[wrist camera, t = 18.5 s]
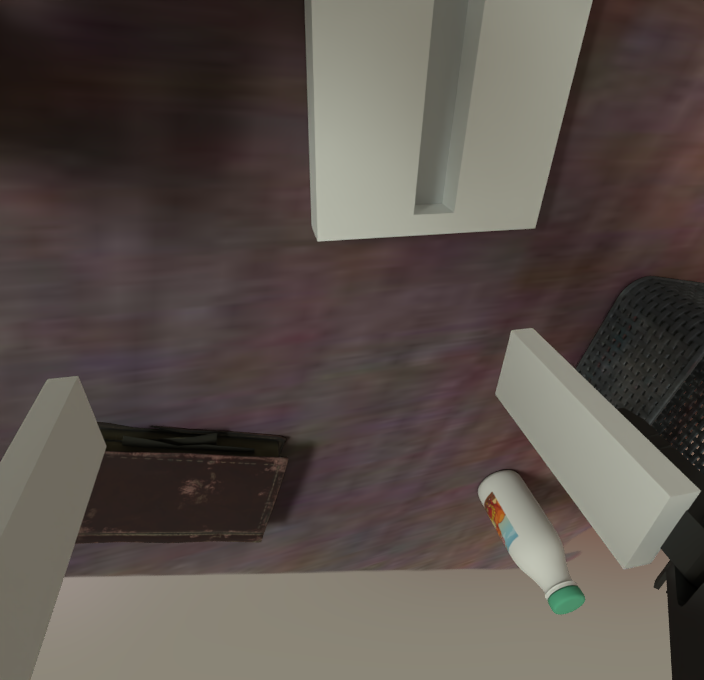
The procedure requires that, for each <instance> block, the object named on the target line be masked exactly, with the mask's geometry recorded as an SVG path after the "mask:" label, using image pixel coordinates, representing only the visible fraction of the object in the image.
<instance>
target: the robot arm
mask: <svg viewBox="0 0 704 680" xmlns="http://www.w3.org/2000/svg"><path fill="white" fill-rule="evenodd" d="M495 395H496V396H497V397H498V399H499V400H500V401H501V403H502V404H503V406H504V407H505V408H506V410H507V411H508V412H509V414H510V415H511V416H512V418H513V419H514V421H515V422H516V423H517V425H518V426H519V427H520V429H521V430H522V431H523V433H524V434H525V436H526V437H527V438H528V440H529V441H530V442H531V444H532V445H533V446H534V448H535V449H536V451H537V452H538V453H539V455H540V456H541V457H542V459H543V460H544V461H545V463H546V464H547V466H548V467H549V468H550V470H551V471H552V472H553V474H554V475H555V476H556V478H557V479H558V481H559V482H560V483H561V485H562V486H563V487H564V489H565V490H566V491H567V493H568V494H569V496H570V497H571V498H572V500H573V501H574V502H575V504H576V505H577V506H578V508H579V509H580V511H581V512H582V513H583V515H584V516H585V517H586V519H587V520H588V521H589V523H590V524H591V526H592V527H593V528H594V529H595V531H596V532H597V534H598V535H599V536H600V538H601V539H602V541H603V542H604V543H605V545H606V546H607V547H608V549H609V550H610V551H611V553H612V554H613V556H614V557H615V558H616V560H617V561H618V562H619V564H620V565H621V566H622V568H623V569H628V568H633V567H637V566H641V565H646V564H650V563H651V562H652V561H653V559H654V558H655V556H656V555H657V554H658V552H659V551H660V549H662V550H663V552H664V553H665V554H666V555H667V556H668V557H669V559H670V561H669V562H668V564H667V565H666V567H665V568H664V569H663V571H662V572H661V573H660V574H659V576H658V577H657V579H656V580H655V583H654V588H656V589H658V590H659V588H660V587H661V586H662V585H663V583H664V582H665V581H666V580H667V591H666V593H667V594H668V595H667V596H668V613H669V631H670V647H671V666H672V680H704V475H703V474H702V473H701V472H700V471H699V470H698V469H697V468H696V467H695V466H694V465H693V464H692V463H690V462H689V461H688V460H687V459H686V458H685V457H684V456H683V455H682V454H681V453H680V452H679V451H678V450H676V449H675V448H672V447H671V444H670V443H669V442H668V441H667V440H666V439H665V438H663V437H662V436H659V433H658V432H657V431H656V430H655V429H654V428H653V427H652V426H651V425H649V424H648V423H647V422H646V421H645V420H644V419H643V418H641V417H639V416H637V415H636V414H634V413H632V412H631V411H629V410H627V409H625V408H618V409H616V408H615V407H614V406H613V405H612V404H611V403H610V402H608V401H607V400H606V399H605V398H604V397H603V396H602V395H601V394H600V393H599V392H598V391H597V390H596V389H595V388H594V387H593V386H592V385H591V384H590V383H589V382H588V381H587V380H586V379H585V378H584V377H583V376H582V375H581V374H580V373H578V372H577V371H576V370H575V369H574V368H573V367H572V366H571V365H570V364H569V363H568V362H567V361H566V360H565V359H564V358H563V357H562V356H561V355H560V354H559V353H558V352H557V351H556V350H555V349H554V348H553V347H552V346H551V345H550V344H548V343H547V342H546V341H545V340H544V339H543V338H542V337H541V336H540V335H539V334H538V333H537V332H536V331H535V330H534V329H533V328H528V329H519V330H512V331H511V334H510V338H509V342H508V346H507V350H506V354H505V358H504V362H503V366H502V370H501V374H500V378H499V381H498V385H497V389H496V393H495ZM105 449H106V444H105V441H104V439H103V436H102V434H101V431H100V429H99V426H98V424H97V421H96V419H95V417H94V414H93V412H92V409H91V407H90V404H89V402H88V399H87V397H86V394H85V392H84V390H83V387H82V385H81V382H80V380H79V377H78V376H74V377H64V378H55V379H47V381H46V383H45V384H44V386H43V388H42V390H41V391H40V393H39V395H38V397H37V398H36V400H35V402H34V404H33V406H32V407H31V409H30V411H29V413H28V414H27V416H26V418H25V420H24V421H23V423H22V425H21V427H20V428H19V430H18V432H17V434H16V436H15V437H14V439H13V441H12V443H11V444H10V446H9V448H8V450H7V451H6V453H5V455H4V457H3V458H2V460H1V462H0V680H30V679H31V676H32V674H33V670H34V667H35V664H36V661H37V658H38V655H39V652H40V649H41V646H42V643H43V640H44V637H45V634H46V630H47V627H48V624H49V621H50V618H51V615H52V612H53V609H54V606H55V603H56V600H57V597H58V594H59V591H60V588H61V584H62V581H63V578H64V575H65V572H66V569H67V566H68V563H69V560H70V557H71V554H72V551H73V548H74V545H75V542H76V538H77V535H78V532H79V529H80V526H81V523H82V520H83V517H84V514H85V511H86V508H87V505H88V502H89V499H90V496H91V492H92V489H93V486H94V483H95V480H96V477H97V474H98V471H99V468H100V465H101V462H102V459H103V456H104V453H105Z"/></svg>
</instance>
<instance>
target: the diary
mask: <svg viewBox="0 0 704 680" xmlns="http://www.w3.org/2000/svg"><path fill="white" fill-rule="evenodd" d="M97 424H98V426H99V429H100V431H101V434H102V436H103V439H104V441H105V444H106V449H105V453H104V456H103V459H102V462H101V465H100V468H99V471H98V474H97V477H96V480H95V483H94V486H93V489H92V492H91V496H90V499H89V502H88V505H87V508H86V511H85V514H84V517H83V520H82V523H81V526H80V529H79V532H78V535H77V538H76V542H75V544H79V543H107V542H144V543H183V542H207V541H227V542H261V541H262V538H263V535H264V532H265V529H266V526H267V523H268V520H269V517H270V515H271V512H272V509H273V506H274V504H275V501H276V498H277V495H278V492H279V489H280V486H281V482H282V479H283V476H284V473H285V470H286V466H287V463H288V459H289V458H288V457H279V456H280V453H281V450H282V448H283V445H284V442H285V440H286V438H284V437H282V436H279V435H269V434H258V433H246V432H234V431H216V430H196V429H184V428H175V427H164V426H151V427H155V428H158V429H147V428H133V427H128V426H122V425H117V424H111V423H103V422H97Z"/></svg>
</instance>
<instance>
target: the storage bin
mask: <svg viewBox="0 0 704 680" xmlns="http://www.w3.org/2000/svg"><path fill="white" fill-rule="evenodd" d="M624 297H625V298H624ZM623 298H624V299H623ZM701 359H702V360H701ZM575 370H576V371H577V372H578V373H580V374H581V375H582V376H583V377H584V378H585V379H586V380H587V381H588V382H589V383H590V384H591V385H592V386H593V387H594V388H595V389H596V390H597V391H598V392H599V393H600V394H601V395H602V396H603V397H604V398H605V399H606V400H607V401H608V402H610V403H611V404H612V405H613V406H614V407H615V408H616V409H618V408H625V409H627V410H629V411H631V412H632V413H634V414H636V415H637V416H639V417H641V418H643V419H644V420H645V421H646V422H647V423H648V424H649V425H652V427H653V428H654V429H655V430H657V432H658V433H659V436H660V434H661V433H662V437H663V438H665V439H666V438H667V441H668V442H669V443H670V444H671V443H672V446H671V447H672V448H675V449H677V450H678V451H679V452H680V453H681V454H682V453H683V456H684V457H685V458H686V459H687V458H688V461H689V462H690V463H692V464H693V463H694V464H695V465H694V466H695V467H696V468H697V469H700V472H701V473H702V474H703V475H704V466H703V464H704V454H702V453H703V452H704V443H702V441H703V439H704V430H703V431H701V430H702V428H703V427H704V418H703V419H702V420H701V417H702V416H704V406H703V407H702V408H700V407H701V405H702V404H703V405H704V283H700V282H692V281H685V280H678V279H670V278H663V277H656V276H648V277H643V278H641V279H638V280H636V281H634V282H633V283H631V284H630V285H629V286H627V287H626V288H625V289H624V290H623V291H622V293H621V294H620V295H619V296H618V298H617V300H616V302H615V303H614V305H613V307H612V308H611V310H610V312H609V313H608V315H607V317H606V318H605V320H604V322H603V324H602V325H601V327H600V329H599V330H598V332H597V334H596V335H595V337H594V339H593V341H592V342H591V344H590V346H589V347H588V349H587V351H586V352H585V354H584V356H583V357H582V359H581V361H580V362H579V364H578V366H577V368H576V369H575ZM701 370H702V371H701ZM695 378H696V379H695ZM694 379H695V380H694ZM684 381H686V382H685V383H684ZM701 381H703V383H702V384H701V385H700V383H701ZM690 384H691V386H690ZM680 387H681V388H680ZM679 388H680V389H679ZM696 388H697V390H696V392H694V390H695V389H696ZM685 391H686V393H685V394H683V393H684V392H685ZM701 393H703V395H702V396H700V395H701ZM690 395H692V397H691V398H690V399H689V397H690ZM680 397H681V399H680V400H679V398H680ZM696 400H697V402H696V403H694V402H695V401H696ZM669 401H670V402H669ZM685 402H686V405H685V406H684V403H685ZM674 405H676V406H675V408H674V407H673V406H674ZM691 406H692V409H691V410H689V409H690V407H691ZM665 407H666V408H665ZM664 408H665V409H664ZM680 408H681V411H680V412H679V410H680ZM670 410H671V413H670V414H669V412H670ZM696 411H697V414H696V415H695V412H696ZM661 412H662V414H660V413H661ZM685 414H686V416H685V417H684V415H685ZM675 415H676V417H675V418H674V416H675ZM665 417H666V419H665V420H664V418H665ZM691 418H693V419H692V420H691V421H690V419H691ZM655 420H656V421H655ZM680 420H682V421H681V422H680V423H679V421H680ZM670 421H672V423H671V424H670V425H669V423H670ZM660 423H662V424H661V425H660ZM696 423H698V425H697V426H695V424H696ZM686 424H687V427H686V428H685V427H684V426H685V425H686ZM676 426H677V428H676V429H674V427H676ZM665 428H667V429H666V431H665V430H664V429H665ZM691 429H693V431H692V432H691V433H690V431H691ZM681 431H683V432H682V433H681V434H680V432H681ZM671 432H672V434H671V435H669V434H670V433H671ZM698 434H699V436H698V438H696V435H698ZM686 436H688V437H687V439H685V437H686ZM676 437H677V439H676V440H674V439H675V438H676ZM692 440H693V441H694V443H692V444H691V442H692ZM681 442H683V444H682V445H680V443H681ZM698 446H699V448H698V449H696V447H698ZM687 447H688V449H687V450H685V449H686V448H687ZM692 452H694V455H693V456H692V455H691V453H692ZM697 458H700V459H699V461H697Z"/></svg>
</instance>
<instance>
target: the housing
mask: <svg viewBox="0 0 704 680" xmlns="http://www.w3.org/2000/svg"><path fill="white" fill-rule="evenodd" d="M592 1H593V0H304V7H305V37H306V68H307V99H308V129H309V160H310V191H311V221H312V229H313V231H314V234H315V236H316V239H317V241H332V240H349V239H366V238H382V237H399V236H416V235H432V234H449V233H466V232H482V231H499V230H516V229H532V228H535V227H536V223H537V219H538V215H539V211H540V207H541V203H542V199H543V195H544V191H545V187H546V184H547V180H548V176H549V172H550V168H551V164H552V160H553V156H554V152H555V148H556V144H557V140H558V136H559V132H560V128H561V124H562V120H563V116H564V112H565V108H566V104H567V100H568V96H569V92H570V88H571V84H572V80H573V76H574V72H575V69H576V65H577V61H578V57H579V53H580V49H581V45H582V41H583V37H584V33H585V29H586V25H587V21H588V17H589V13H590V9H591V5H592Z"/></svg>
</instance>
